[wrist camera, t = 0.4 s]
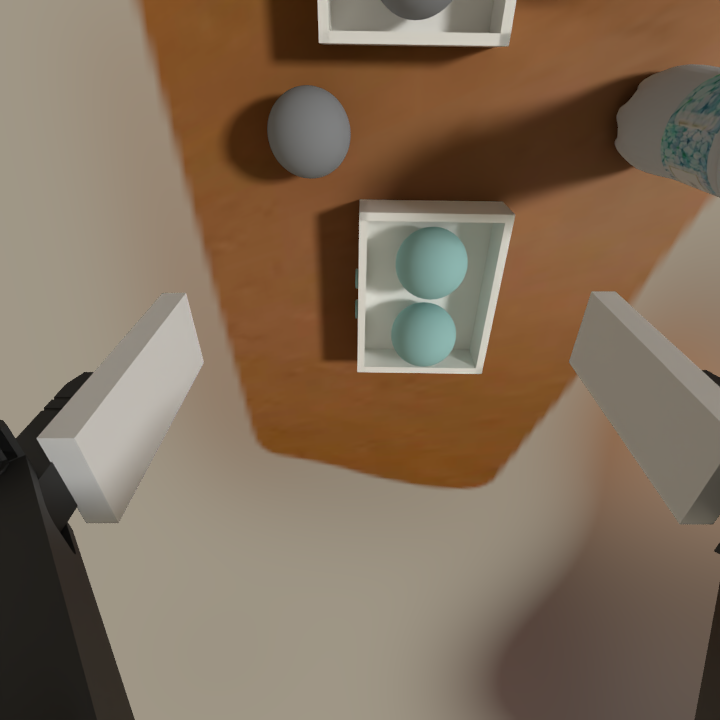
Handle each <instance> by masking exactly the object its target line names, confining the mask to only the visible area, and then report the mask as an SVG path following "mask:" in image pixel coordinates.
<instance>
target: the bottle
mask: <svg viewBox="0 0 720 720" xmlns="http://www.w3.org/2000/svg"><path fill="white" fill-rule="evenodd" d="M616 118H617V124H618V134H617V138H616V140H615V146H616V149H617V151H618V152H619V153H620V155H621V156H622V157H623V158H624V159H625V160H626V161H627V162H628V163H630V164H631V165H632V166H634V167H635V168H637V169H639V170H641V171H644V172H647V173H650V174H654V175H657V176H662V177H666V178H670V179H674V180H677V181H679V182H682V183H684V184H687V185H689V186H692V187H694V188H697V189H699V190H702V191H704V192H707V193H709V194H712V195H715V196H717V197H720V68H719V67H714V66H707V65H694V64H692V65H682V66H677V67H673V68H670V69H667V70H664V71H661V72H658V73H656V74H653V75H651V76H649V77H648V78H646V79H644V80H643V81H642V82H641V83H640V84H639V86H638V90H637V91H636V92H635V94H634V95H633V96H632V97H631V98H630V100H629V101H628V102H627V103H626V104H624V105H623V106H621V107H620V109H619V111H618V113H617V116H616Z"/></svg>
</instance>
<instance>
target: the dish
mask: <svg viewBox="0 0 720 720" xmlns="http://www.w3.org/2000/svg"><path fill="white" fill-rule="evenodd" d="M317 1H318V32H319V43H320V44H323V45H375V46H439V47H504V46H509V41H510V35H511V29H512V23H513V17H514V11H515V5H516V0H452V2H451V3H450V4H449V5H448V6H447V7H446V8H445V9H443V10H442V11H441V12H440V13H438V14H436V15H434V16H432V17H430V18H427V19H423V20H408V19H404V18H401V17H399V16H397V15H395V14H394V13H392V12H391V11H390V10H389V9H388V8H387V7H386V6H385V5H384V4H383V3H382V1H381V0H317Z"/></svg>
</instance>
